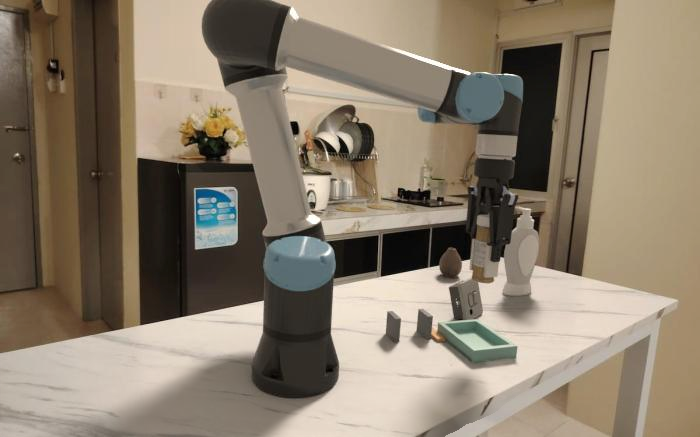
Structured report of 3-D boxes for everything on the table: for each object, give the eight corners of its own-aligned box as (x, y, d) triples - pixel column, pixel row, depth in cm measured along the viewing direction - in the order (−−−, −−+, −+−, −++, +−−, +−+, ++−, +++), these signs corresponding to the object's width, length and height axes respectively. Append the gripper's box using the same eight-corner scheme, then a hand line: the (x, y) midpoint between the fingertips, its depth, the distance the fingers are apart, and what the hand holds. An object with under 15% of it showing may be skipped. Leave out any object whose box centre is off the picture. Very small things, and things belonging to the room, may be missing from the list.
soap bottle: (519, 285, 143) (529, 205, 139) (540, 293, 136) (551, 209, 132) (486, 289, 137) (496, 206, 133) (506, 298, 130) (517, 210, 126)
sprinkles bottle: (487, 277, 100) (493, 214, 97) (498, 284, 95) (505, 218, 93) (467, 277, 99) (473, 213, 96) (477, 284, 94) (484, 217, 92)
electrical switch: (467, 324, 111) (467, 285, 110) (446, 320, 114) (447, 282, 113) (483, 314, 118) (484, 277, 117) (464, 310, 121) (464, 274, 120)
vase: (438, 277, 146) (441, 250, 145) (438, 271, 153) (440, 245, 151) (461, 280, 145) (464, 252, 144) (460, 273, 152) (462, 247, 150)
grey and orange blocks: (397, 345, 97) (399, 322, 96) (382, 329, 104) (384, 308, 103) (445, 340, 101) (447, 318, 100) (427, 326, 108) (429, 305, 107)
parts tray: (472, 362, 91) (474, 350, 91) (437, 333, 104) (438, 322, 104) (516, 357, 95) (517, 346, 94) (476, 329, 108) (477, 319, 107)
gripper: (541, 161, 86) (526, 285, 90) (485, 155, 102) (474, 261, 106) (507, 160, 83) (493, 287, 87) (454, 154, 100) (445, 262, 104)
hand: (483, 272), depth 97 cm, fingers closed on sprinkles bottle, 4 cm apart
